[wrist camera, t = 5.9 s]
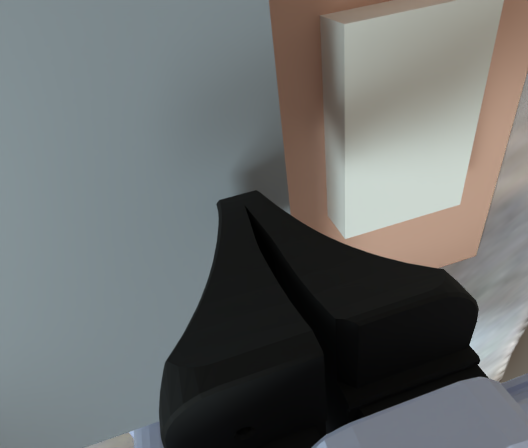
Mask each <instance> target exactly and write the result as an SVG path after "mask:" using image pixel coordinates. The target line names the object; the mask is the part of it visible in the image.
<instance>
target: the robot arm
mask: <svg viewBox="0 0 528 448" xmlns="http://www.w3.org/2000/svg"><path fill="white" fill-rule="evenodd" d="M216 205H217V209H218V217H219V221H218V235H217V243H216V248H215V254H214V259H213V263H212V267H211V270H210V274H209V277H208V280H207V283H206V286H205V288H204V291H203V294H202V296H201V299H200V301H199V303H198V306H197V308H196V310H195V312H194V314H193V316H192V318H191V320H190V322H189V324H188V326H187V328H186V330H185V331H184V333H183V335H182V337H181V338H180V340H179V341H178V343H177V344H176V346H175V348H174V349H173V351H172V352H171V354H170V355H169V357H168V358H167V360H166V361H165V364H164V369H163V375H162V381H161V388H160V398H159V422H156V423H153V424H150V425H147V426H145V427H142V428H139V429H136V430H133V431H130V432H129V433H130V434H131V435H132V437H133V438H134V448H528V373H527V374H524V375H522V376H519V377H516V378H514V379H511V380H509V381H506V382H504V383H500V382H498V381H495V380H492V379H489V378H488V377H487V376H486V374H485V373H484V372H483V371H482V370H481V368H480V367H479V366H478V365H477V364H479V362H480V358H479V356H478V355H477V354H476V353H475V351H474V350H473V349H472V348H471V347H470V346H469V344H470V341H471V338H472V335H473V332H474V329H475V326H476V322H477V317H478V310H479V308H478V305H477V302H476V300H475V299H474V298H473V297H472V296H471V295H470V294H469V293H468V292H467V291H466V290H465V289H464V288H463V287H462V286H461V285H460V284H459V283H458V281H456V280H455V279H454V278H453V277H452V276H451V275H450V274H448V273H447V272H446V271H445V270H444V269H438V268H433V267H427V266H421V265H416V264H410V263H405V262H401V261H397V260H393V259H389V258H385V257H382V256H378V255H375V254H372V253H369V252H366V251H363V250H360V249H357V248H354V247H351V246H349V245H346V244H344V243H341V242H339V241H337V240H335V239H332V238H330V237H328V236H326V235H324V234H322V233H320V232H318V231H316V230H314V229H313V228H311V227H309V226H307V225H306V224H304V223H302V222H301V221H299V220H298V219H296V218H295V217H293V216H292V215H290V214H289V213H287V212H286V211H284V210H283V209H281V208H280V207H279V206H277V205H276V204H275V203H273V202H272V201H271V200H269V199H268V198H267V197H266V196H264V195H263V194H262V193H260V192H259V191H257V190H255V191H251V192H247V193H243V194H240V195H236V196H232V197H229V198H225V199H221V200H219V201H218V202H217V204H216ZM326 434H327V435H326Z"/></svg>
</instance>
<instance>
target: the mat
mask: <svg viewBox="0 0 528 448" xmlns="http://www.w3.org/2000/svg"><path fill="white" fill-rule="evenodd" d="M387 1H391V0H269V8H270V17H271V27H272V37H273V47H274V56H275V66H276V76H277V86H278V96H279V105H280V115H281V125H282V135H283V144H284V154H285V164H286V174H287V184H288V193H289V203H290V213H291V215H292V216H293V217H295V218H296V219H298V220H299V221H301V222H302V223H304V224H306V225H307V226H309V227H311V228H313V229H314V230H316V231H318V232H320V233H322V234H324V235H326V236H328V237H330V238H332V239H335V240H337V241H339V242H341V243H344V244H346V245H349V246H351V247H354V248H357V249H360V250H363V251H366V252H369V253H372V254H375V255H378V256H382V257H385V258H389V259H393V260H397V261H401V262H405V263H410V264H416V265H421V266H427V267H433V268H440V267H443V266H446V265H449V264H453V263H456V262H459V261H462V260H465V259H468V258H471V257H474V256H476V254H477V250H478V247H479V243H480V240H481V236H482V233H483V229H484V225H485V222H486V218H487V215H488V211H489V207H490V204H491V200H492V197H493V193H494V190H495V186H496V182H497V179H498V175H499V172H500V168H501V164H502V161H503V157H504V154H505V150H506V146H507V143H508V139H509V136H510V132H511V129H512V125H513V121H514V118H515V114H516V111H517V107H518V103H519V100H520V96H521V93H522V89H523V86H524V82H525V78H526V75H527V71H528V0H504V3H503V8H502V12H501V17H500V21H499V26H498V31H497V35H496V40H495V45H494V49H493V54H492V59H491V63H490V68H489V73H488V77H487V82H486V87H485V91H484V96H483V100H482V105H481V110H480V114H479V119H478V124H477V128H476V133H475V138H474V142H473V147H472V152H471V156H470V161H469V166H468V170H467V175H466V179H465V184H464V189H463V193H462V198H461V203H460V205H457V206H454V207H450V208H447V209H444V210H440V211H437V212H434V213H430V214H427V215H424V216H420V217H417V218H414V219H410V220H407V221H404V222H400V223H397V224H394V225H391V226H387V227H384V228H381V229H377V230H374V231H371V232H367V233H364V234H361V235H357V236H354V237H351V238H347V239H345V238H344V237H343V236H342V234H341V233H340V232H339V230H338V229H337V228H336V226H335V225H334V224H333V222H332V221H331V220H330V218H329V217H328V213H327V187H326V161H325V135H324V109H323V83H322V57H321V31H320V15H324V14H329V13H334V12H339V11H343V10H348V9H353V8H358V7H363V6H367V5H372V4H377V3H382V2H387Z"/></svg>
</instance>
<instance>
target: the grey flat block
mask: <svg viewBox="0 0 528 448" xmlns="http://www.w3.org/2000/svg"><path fill="white" fill-rule="evenodd" d="M255 190H257V191H259V192H260V193H262V194H263V195H264V196H266V197H267V198H268V199H269V200H271V201H272V202H273V203H275V204H276V205H277V206H279V207H280V208H281V209H283V210H284V211H286V212H287V213H289V214H290V215H291V213H290V203H289V193H288V184H287V174H286V164H285V154H284V144H283V135H282V125H281V115H280V105H279V96H278V86H277V76H276V66H275V56H274V47H273V37H272V27H271V17H270V8H269V0H0V448H84V447H87V446H90V445H93V444H96V443H99V442H102V441H104V440H107V439H110V438H113V437H116V436H119V435H122V434H125V433H127V432H130V431H133V430H136V429H139V428H142V427H145V426H147V425H150V424H153V423H156V422H159V398H160V388H161V381H162V375H163V369H164V364H165V361H166V360H167V358H168V357H169V355H170V354H171V352H172V351H173V349H174V348H175V346H176V344H177V343H178V341H179V340H180V338H181V337H182V335H183V333H184V331H185V330H186V328H187V326H188V324H189V322H190V320H191V318H192V316H193V314H194V312H195V310H196V308H197V306H198V303H199V301H200V299H201V296H202V294H203V291H204V288H205V286H206V283H207V280H208V277H209V274H210V270H211V267H212V263H213V259H214V254H215V248H216V243H217V235H218V221H219V217H218V209H217V205H216V204H217V202H218V201H219V200H221V199H225V198H229V197H232V196H236V195H240V194H243V193H247V192H251V191H255Z"/></svg>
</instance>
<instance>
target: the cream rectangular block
mask: <svg viewBox="0 0 528 448" xmlns="http://www.w3.org/2000/svg"><path fill="white" fill-rule="evenodd" d="M503 3H504V0H391V1H387V2H382V3H377V4H372V5H367V6H363V7H358V8H353V9H348V10H343V11H339V12H334V13H329V14H324V15H320V31H321V57H322V83H323V109H324V135H325V161H326V187H327V213H328V217H329V218H330V220H331V221H332V222H333V224H334V225H335V226H336V228H337V229H338V230H339V232H340V233H341V234H342V236H343V237H344V238H345V239H347V238H351V237H354V236H357V235H361V234H364V233H367V232H371V231H374V230H377V229H381V228H384V227H387V226H391V225H394V224H397V223H400V222H404V221H407V220H410V219H414V218H417V217H420V216H424V215H427V214H430V213H434V212H437V211H440V210H444V209H447V208H450V207H454V206H457V205H460V203H461V198H462V193H463V189H464V184H465V179H466V175H467V170H468V166H469V161H470V156H471V152H472V147H473V142H474V138H475V133H476V128H477V124H478V119H479V114H480V110H481V105H482V100H483V96H484V91H485V87H486V82H487V77H488V73H489V68H490V63H491V59H492V54H493V49H494V45H495V40H496V35H497V31H498V26H499V21H500V17H501V12H502V8H503Z"/></svg>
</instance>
